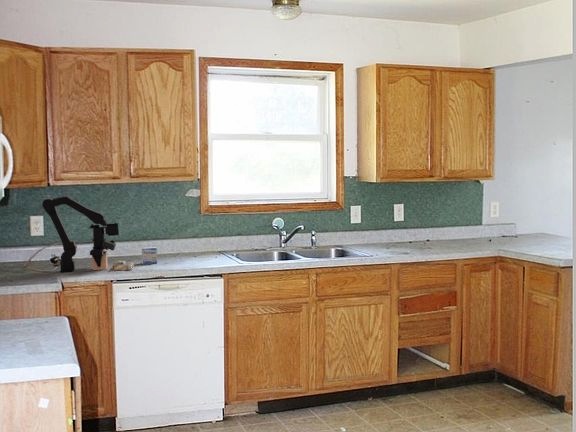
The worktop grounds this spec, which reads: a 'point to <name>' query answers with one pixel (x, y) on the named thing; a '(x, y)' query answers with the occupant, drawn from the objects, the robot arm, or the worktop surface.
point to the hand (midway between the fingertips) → (100, 266)
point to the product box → (103, 263)
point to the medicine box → (149, 255)
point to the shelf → (122, 267)
